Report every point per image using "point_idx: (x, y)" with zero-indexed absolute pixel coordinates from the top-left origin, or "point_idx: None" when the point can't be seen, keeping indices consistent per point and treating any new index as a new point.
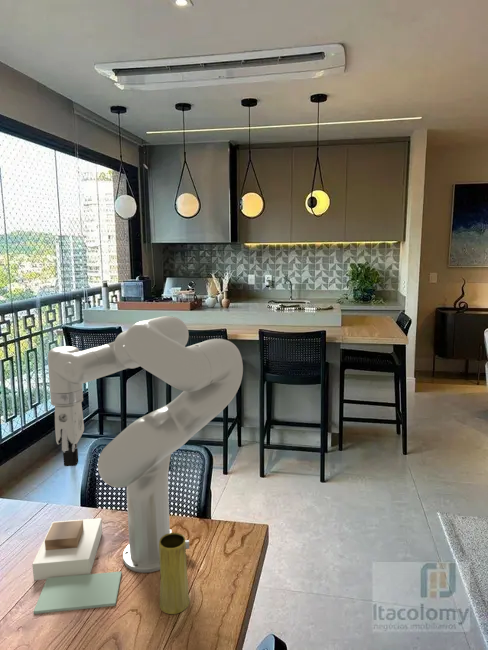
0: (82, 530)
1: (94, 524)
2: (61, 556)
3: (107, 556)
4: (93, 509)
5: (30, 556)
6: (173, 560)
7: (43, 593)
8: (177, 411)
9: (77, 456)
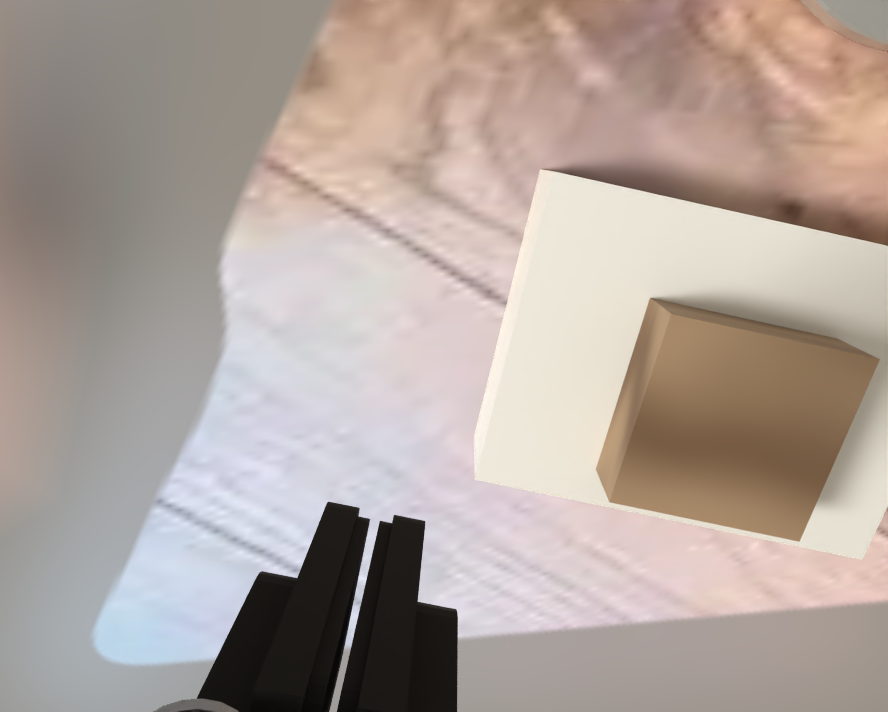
0: (681, 306)
1: (617, 223)
2: (878, 423)
3: (804, 149)
4: (249, 215)
5: (609, 532)
6: None
7: None
8: None
9: (342, 576)
